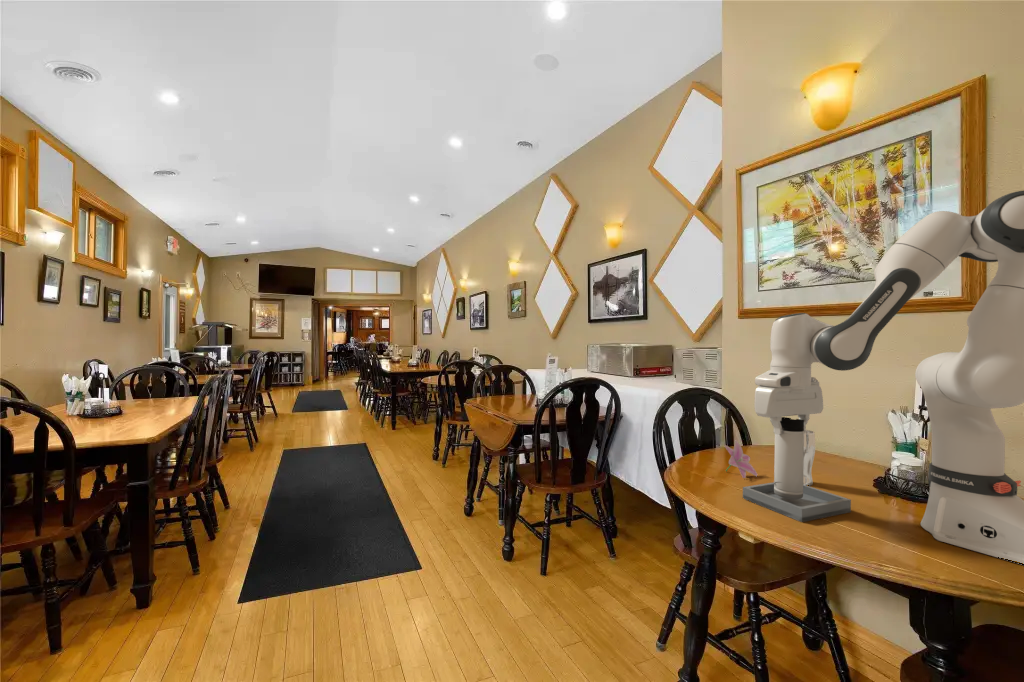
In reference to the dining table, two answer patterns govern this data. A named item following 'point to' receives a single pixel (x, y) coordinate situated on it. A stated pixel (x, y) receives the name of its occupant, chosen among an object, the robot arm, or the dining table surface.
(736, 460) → the lily
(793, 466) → the travel mug
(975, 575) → the dining table surface
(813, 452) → the beer glass
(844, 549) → the dining table surface
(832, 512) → the serving tray
